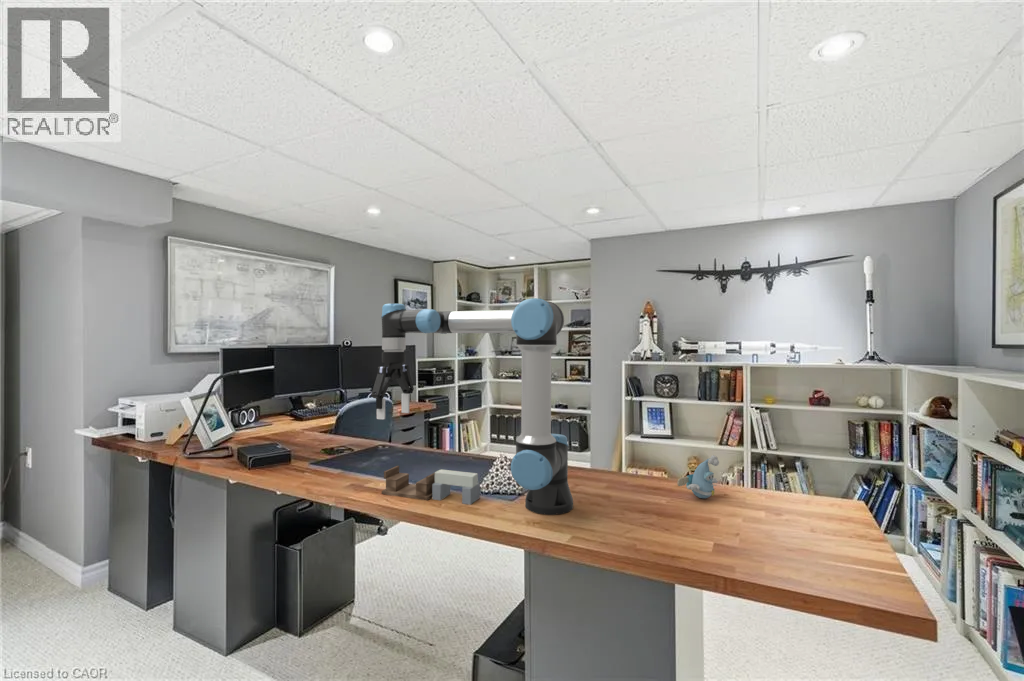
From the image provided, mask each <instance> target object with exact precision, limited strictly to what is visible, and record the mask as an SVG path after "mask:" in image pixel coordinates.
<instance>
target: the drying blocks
mask: <svg viewBox="0 0 1024 681" xmlns="http://www.w3.org/2000/svg"><path fill="white" fill-rule="evenodd" d="M480 485H481V484H480V482H478V484H477V485H476V486H474V487H473V488H471V487H463V486H462V488H461V504H464V505H469V506H470V505H472V504H473V503H475V502H476V501H478V500H479V499H480V497H481V496H480V495H481V494H480V492H481V490H480V489H481V486H480ZM449 495H451V485H447V484H439V483H434V484H432V498H431V499H432V500H435V501H442V500H443V499H445V498H447V497H448V496H449Z"/></svg>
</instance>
